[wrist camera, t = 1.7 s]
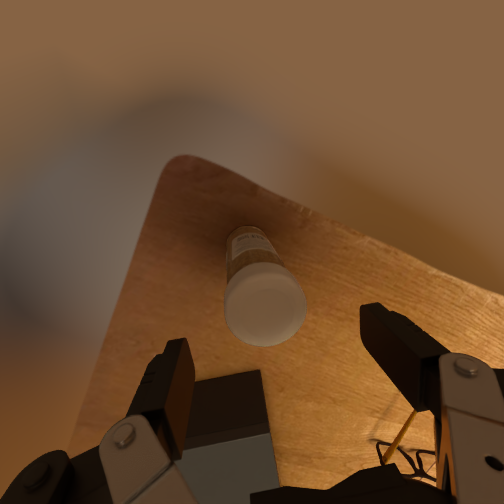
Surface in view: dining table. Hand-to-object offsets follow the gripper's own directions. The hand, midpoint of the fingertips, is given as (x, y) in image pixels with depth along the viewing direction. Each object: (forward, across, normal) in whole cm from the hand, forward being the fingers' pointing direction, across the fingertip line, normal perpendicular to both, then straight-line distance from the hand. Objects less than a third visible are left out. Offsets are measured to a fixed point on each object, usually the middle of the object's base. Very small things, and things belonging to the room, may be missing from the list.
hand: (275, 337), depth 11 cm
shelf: (+16, +6, +30) cm, 34 cm away
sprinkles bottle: (+16, 0, 0) cm, 16 cm away
